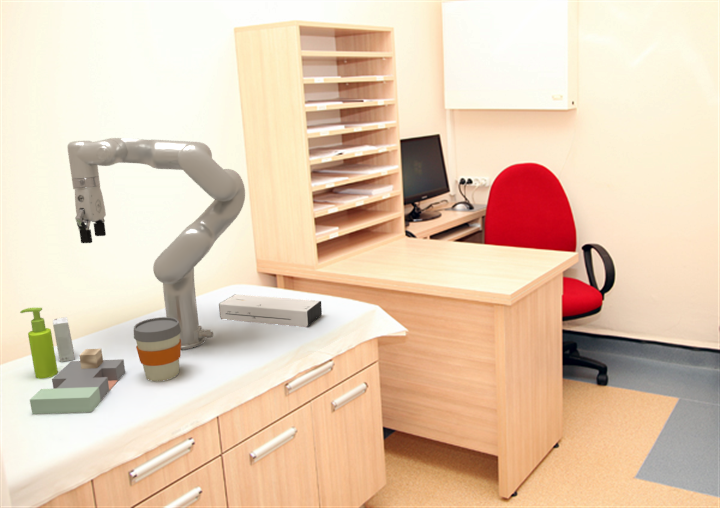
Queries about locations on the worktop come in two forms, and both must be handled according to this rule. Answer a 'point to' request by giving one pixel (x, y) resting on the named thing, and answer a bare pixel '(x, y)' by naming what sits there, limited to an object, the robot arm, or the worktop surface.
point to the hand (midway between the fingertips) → (93, 239)
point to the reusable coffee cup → (159, 347)
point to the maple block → (91, 358)
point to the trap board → (78, 388)
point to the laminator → (270, 310)
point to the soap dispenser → (41, 346)
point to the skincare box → (63, 339)
